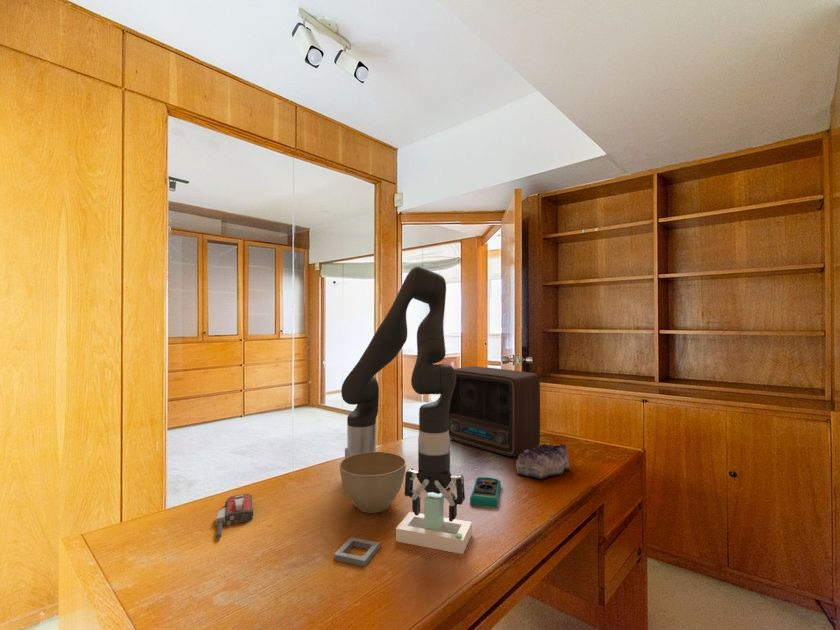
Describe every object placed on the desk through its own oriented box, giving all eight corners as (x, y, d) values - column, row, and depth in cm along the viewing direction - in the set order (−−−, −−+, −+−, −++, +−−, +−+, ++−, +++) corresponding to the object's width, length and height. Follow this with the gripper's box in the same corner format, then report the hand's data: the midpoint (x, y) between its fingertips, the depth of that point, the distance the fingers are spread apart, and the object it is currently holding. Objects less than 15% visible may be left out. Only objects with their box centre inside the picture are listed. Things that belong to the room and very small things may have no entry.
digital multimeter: (500, 487, 130) (500, 477, 130) (497, 509, 115) (497, 498, 115) (476, 485, 131) (476, 475, 131) (469, 507, 116) (469, 495, 116)
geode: (549, 460, 152) (552, 434, 151) (576, 475, 142) (580, 446, 141) (508, 470, 141) (512, 441, 140) (534, 486, 131) (539, 455, 130)
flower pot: (333, 499, 121) (333, 456, 121) (393, 488, 128) (392, 448, 128) (348, 528, 104) (348, 479, 104) (416, 514, 111) (415, 468, 111)
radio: (441, 440, 177) (440, 368, 177) (468, 432, 189) (468, 365, 189) (513, 462, 150) (513, 378, 150) (540, 451, 162) (540, 373, 162)
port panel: (396, 541, 98) (395, 525, 98) (409, 523, 106) (409, 509, 106) (462, 554, 93) (462, 537, 93) (471, 534, 101) (471, 519, 101)
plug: (424, 540, 99) (424, 497, 99) (429, 532, 102) (429, 491, 102) (439, 543, 97) (438, 499, 97) (443, 535, 101) (443, 493, 101)
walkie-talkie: (218, 507, 117) (213, 543, 98) (218, 491, 117) (213, 524, 98) (252, 502, 120) (254, 535, 102) (252, 486, 120) (253, 517, 102)
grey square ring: (334, 559, 91) (334, 554, 91) (351, 542, 98) (351, 537, 98) (364, 566, 88) (364, 560, 88) (379, 548, 95) (379, 542, 95)
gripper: (400, 450, 98) (400, 519, 98) (459, 457, 94) (459, 529, 94) (411, 441, 105) (412, 505, 105) (467, 447, 101) (467, 514, 101)
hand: (434, 517), depth 100 cm, fingers open, 8 cm apart
